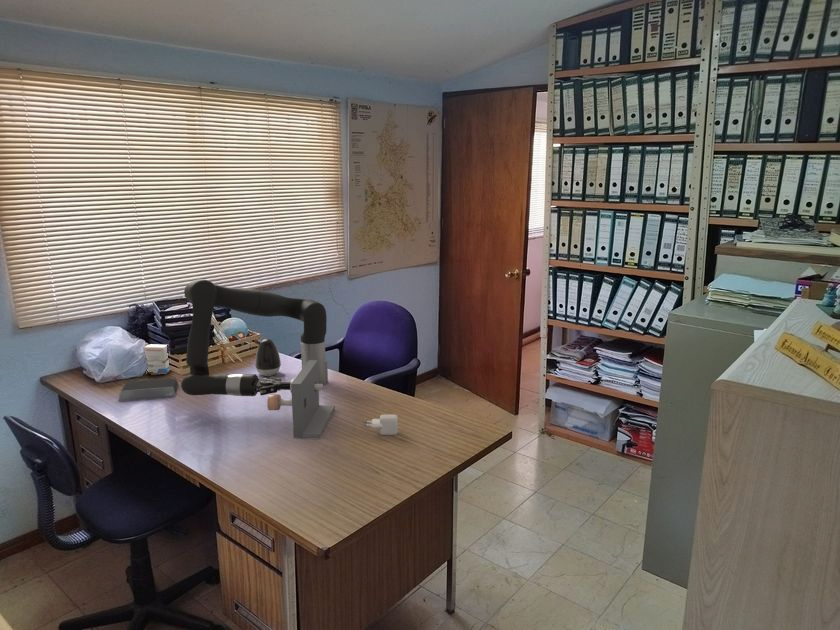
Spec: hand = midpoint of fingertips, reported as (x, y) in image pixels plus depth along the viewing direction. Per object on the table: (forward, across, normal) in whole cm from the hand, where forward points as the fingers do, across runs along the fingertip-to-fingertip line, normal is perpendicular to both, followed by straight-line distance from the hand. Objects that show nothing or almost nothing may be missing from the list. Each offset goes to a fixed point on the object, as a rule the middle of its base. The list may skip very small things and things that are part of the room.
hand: (292, 386), depth 205 cm
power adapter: (+32, -14, +10) cm, 36 cm away
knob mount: (+9, -7, +10) cm, 16 cm away
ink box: (-66, +39, +10) cm, 78 cm away
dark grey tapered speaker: (-21, +40, +10) cm, 47 cm away
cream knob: (+5, 0, +3) cm, 6 cm away
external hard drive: (-59, +16, +11) cm, 62 cm away
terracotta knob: (+2, -15, +2) cm, 15 cm away
